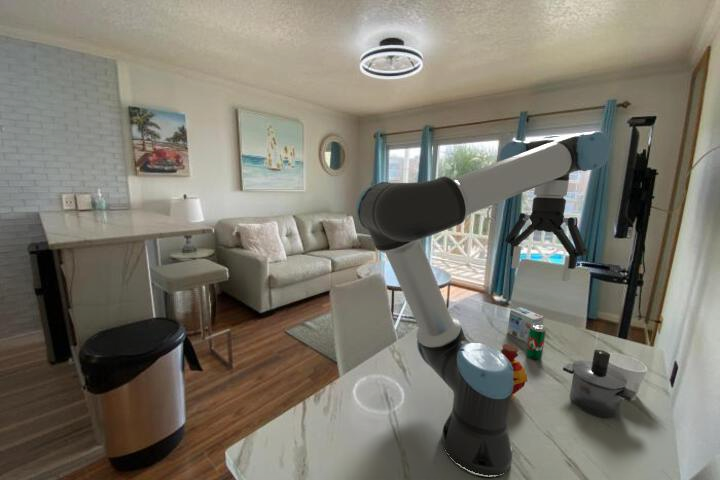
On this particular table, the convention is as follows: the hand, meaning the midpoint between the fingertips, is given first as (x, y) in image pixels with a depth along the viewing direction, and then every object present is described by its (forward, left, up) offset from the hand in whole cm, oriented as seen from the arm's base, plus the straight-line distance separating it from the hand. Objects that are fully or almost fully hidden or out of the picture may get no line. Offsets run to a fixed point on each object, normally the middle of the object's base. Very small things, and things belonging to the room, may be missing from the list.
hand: (538, 273), depth 85 cm
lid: (+12, -14, -28) cm, 33 cm away
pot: (+12, -14, -37) cm, 41 cm away
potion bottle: (-6, +2, -37) cm, 37 cm away
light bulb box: (+35, +18, -37) cm, 54 cm away
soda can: (+23, +8, -37) cm, 44 cm away
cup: (+26, -16, -37) cm, 48 cm away
